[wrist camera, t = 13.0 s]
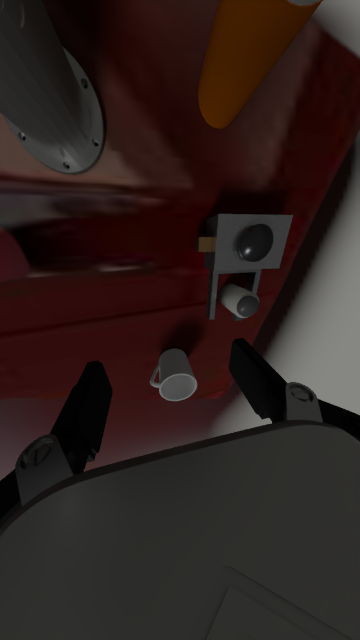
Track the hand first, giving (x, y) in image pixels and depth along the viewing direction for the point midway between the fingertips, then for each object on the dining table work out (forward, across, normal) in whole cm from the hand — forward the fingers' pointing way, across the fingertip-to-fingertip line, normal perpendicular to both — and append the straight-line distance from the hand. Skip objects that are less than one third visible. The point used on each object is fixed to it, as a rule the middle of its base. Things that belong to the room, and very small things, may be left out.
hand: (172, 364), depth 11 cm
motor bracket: (+26, -17, 0) cm, 31 cm away
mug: (+26, -1, +23) cm, 34 cm away
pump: (+26, -18, +5) cm, 32 cm away
